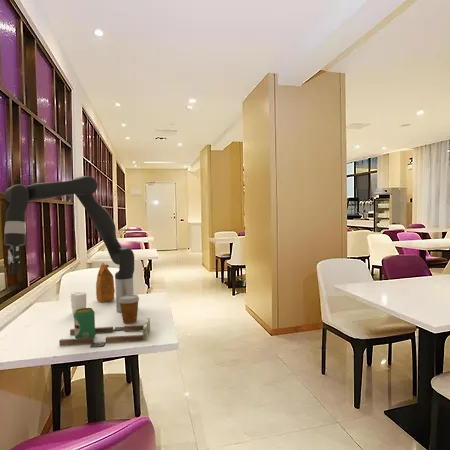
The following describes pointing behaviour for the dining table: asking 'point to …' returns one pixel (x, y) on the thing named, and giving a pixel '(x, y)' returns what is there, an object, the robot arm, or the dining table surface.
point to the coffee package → (104, 284)
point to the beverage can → (84, 323)
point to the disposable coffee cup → (129, 308)
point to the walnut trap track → (111, 338)
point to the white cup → (78, 301)
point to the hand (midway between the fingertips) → (13, 273)
